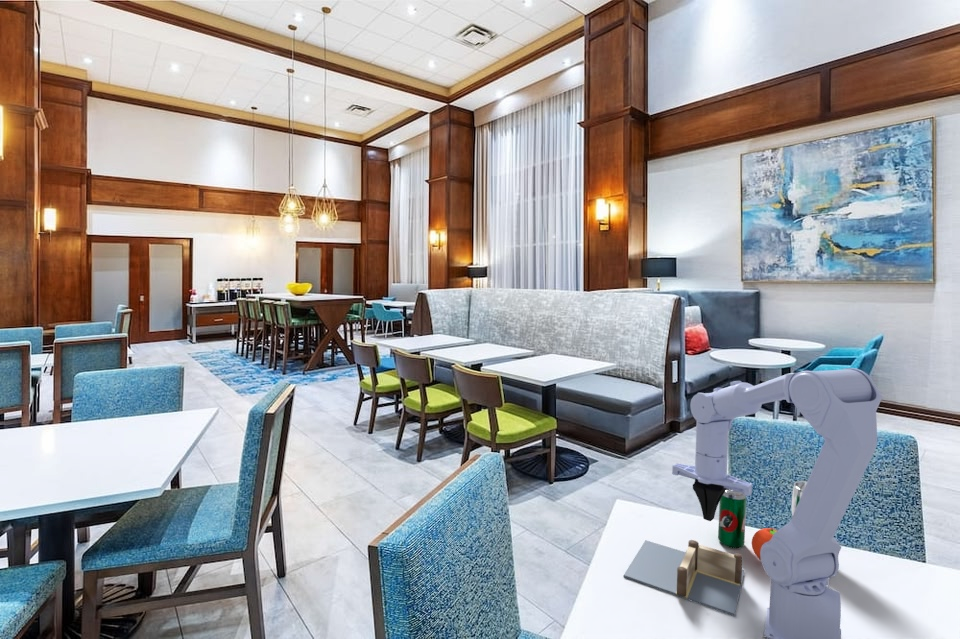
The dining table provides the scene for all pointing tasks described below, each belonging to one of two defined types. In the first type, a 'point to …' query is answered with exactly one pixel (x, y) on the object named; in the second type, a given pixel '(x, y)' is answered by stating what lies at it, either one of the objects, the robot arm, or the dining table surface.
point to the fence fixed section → (717, 562)
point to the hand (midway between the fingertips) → (708, 518)
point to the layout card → (660, 572)
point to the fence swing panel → (685, 571)
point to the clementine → (761, 539)
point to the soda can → (732, 519)
